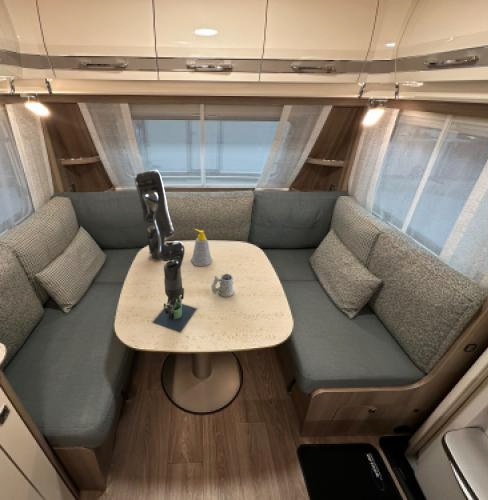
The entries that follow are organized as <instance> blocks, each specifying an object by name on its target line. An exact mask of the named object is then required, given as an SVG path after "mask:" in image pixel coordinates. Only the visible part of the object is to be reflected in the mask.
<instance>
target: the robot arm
mask: <svg viewBox="0 0 488 500" xmlns="http://www.w3.org/2000/svg"><path fill="white" fill-rule="evenodd" d="M134 185H135V188H136V191H137V194H138V198H139V203H140V207H141V211H142V212H141V213H142V219H143V221H144V223H146V224H151V225H150V226H149V227H147V228H146V235H147V241H148V242H147V244H148V255H149V259H150V260H151V261H154V262H160V261H162V262H164V263H165V264H164V265H163V275H164V277H163V281H164V294H165V295H166V297H167V302H166V303H163V309H164V310H165V313H166V314H169V318H171V319H173V318H174V312H173V311H174V308H175V306H176V302H180V303H181V304H182V302H183V300H184V297H185V287H183V278H182V277H183V276H182V265H183V260H184V258H185V249H186V248H185V245H184V244H183V243H182V242H181V241H179V240H175V241H171V238H172V237H174V236H175V229H174V227H173V226H174V225H173V223H172V220H171V217H170V214H169V208H168V203H167V197H166V192H165V188H164V183H163V180H162V177H161V173H160V172H159V170H158V169H152V170H148V171H143V172H139V173H137V174H135V176H134ZM167 241H171V242H167ZM170 304H172V305H173V306H172V305H170ZM171 308H172V310H171Z"/></svg>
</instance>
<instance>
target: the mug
mask: <svg viewBox="0 0 488 500" xmlns="http://www.w3.org/2000/svg"><path fill="white" fill-rule="evenodd" d="M218 282H219V286H218V287H217V288H216V285H218ZM211 291H212V293H213V294H214V295H216V293H219V295H220V296H221V297H224V298H228V297H231V296H232V295H233V293H234V276H233V275H232V274H231V273H223V274H221V275H220V277H218V276H217V274H216V275H214V279H213V281H212V284H211Z"/></svg>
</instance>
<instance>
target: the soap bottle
mask: <svg viewBox="0 0 488 500" xmlns="http://www.w3.org/2000/svg"><path fill="white" fill-rule="evenodd" d="M194 231H195V232H198V233H199V234H197V237H196V238H195V242H194V247H193V252H192V257H191V263H192V264H193V265H195V266H196V267H197V266H198V267H206V266H208V265H210V264H211V263H212V255H211V250H210V245H209V241H208V238H207V237H206V234H205V231H204V230H201V229H197V228H194Z"/></svg>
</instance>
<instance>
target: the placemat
mask: <svg viewBox="0 0 488 500" xmlns="http://www.w3.org/2000/svg"><path fill="white" fill-rule="evenodd" d="M181 305H182V316H181V317H180V318H178V319H171V318H169V314H166V313H165V310H164V308H162V309H163V310H162V311H161V312H160V313H159V314H158V315H157V316H156V317H155V319H153V321H152V323H154V324H156V325H158V326H159V325H160V326H162V327H165V328H168V329H171V330H173V331H176V332H179V333H181V332H182V330H183V329H184V328H185V326H186V325H187V323H189V321H190V320H191V317H192V316H193V315H194V313H195V311H196V310H197V308H196V307H193V306H190V305H186V304H185V303H181Z"/></svg>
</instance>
